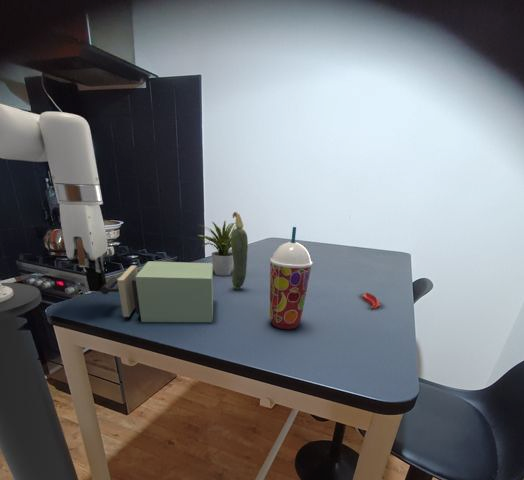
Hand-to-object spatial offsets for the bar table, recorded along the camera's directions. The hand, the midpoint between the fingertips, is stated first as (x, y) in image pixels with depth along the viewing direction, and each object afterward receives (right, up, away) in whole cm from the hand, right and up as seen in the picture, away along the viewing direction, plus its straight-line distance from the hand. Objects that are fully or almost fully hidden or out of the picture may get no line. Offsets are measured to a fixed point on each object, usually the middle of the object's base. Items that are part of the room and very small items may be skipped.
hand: (98, 289), depth 68 cm
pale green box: (+16, -4, +5) cm, 17 cm away
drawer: (+10, -3, +3) cm, 11 cm away
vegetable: (+28, +4, +20) cm, 35 cm away
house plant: (+22, +12, +36) cm, 44 cm away
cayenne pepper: (+65, 0, +18) cm, 67 cm away
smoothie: (+40, -7, +2) cm, 41 cm away
